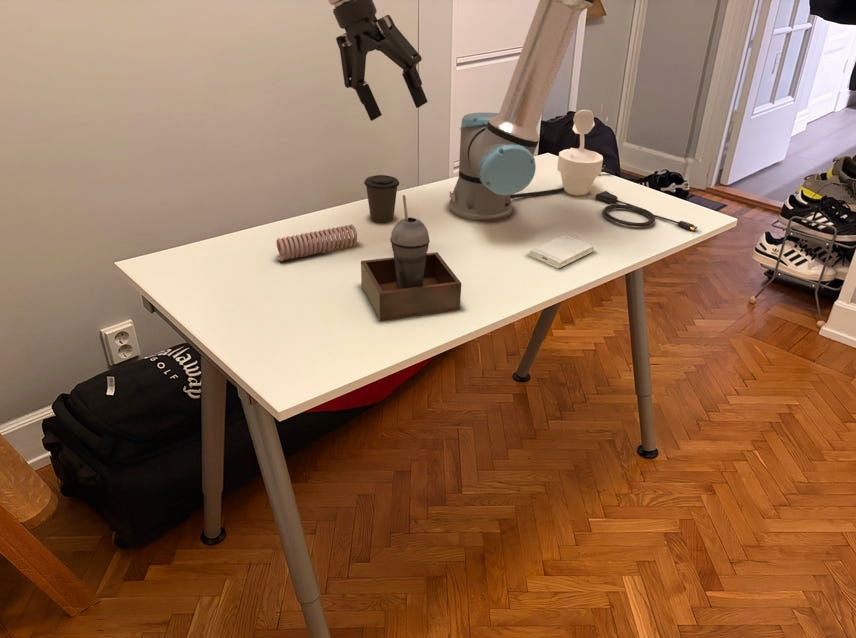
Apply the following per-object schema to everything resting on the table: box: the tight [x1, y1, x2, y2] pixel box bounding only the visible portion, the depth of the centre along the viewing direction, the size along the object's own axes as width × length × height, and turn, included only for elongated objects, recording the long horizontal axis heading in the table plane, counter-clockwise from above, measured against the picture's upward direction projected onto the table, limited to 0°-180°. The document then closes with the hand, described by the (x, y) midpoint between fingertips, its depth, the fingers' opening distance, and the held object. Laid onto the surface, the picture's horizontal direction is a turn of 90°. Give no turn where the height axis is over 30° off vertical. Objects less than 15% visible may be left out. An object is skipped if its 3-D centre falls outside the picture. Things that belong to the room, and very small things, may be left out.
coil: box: [276, 224, 359, 262], centre depth 152 cm, size 5×5×18 cm
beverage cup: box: [389, 194, 431, 289], centre depth 133 cm, size 7×7×20 cm
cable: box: [595, 190, 698, 231], centre depth 178 cm, size 14×28×2 cm, turn 44°
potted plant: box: [556, 102, 609, 197], centre depth 185 cm, size 13×12×25 cm
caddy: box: [360, 251, 462, 322], centre depth 137 cm, size 16×14×6 cm
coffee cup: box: [363, 174, 400, 225], centre depth 166 cm, size 8×8×10 cm
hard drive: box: [529, 234, 594, 269], centre depth 158 cm, size 2×8×12 cm
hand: (398, 111), depth 141 cm, fingers open, 13 cm apart
